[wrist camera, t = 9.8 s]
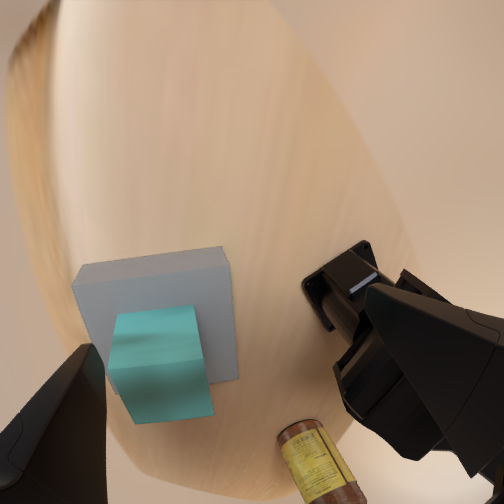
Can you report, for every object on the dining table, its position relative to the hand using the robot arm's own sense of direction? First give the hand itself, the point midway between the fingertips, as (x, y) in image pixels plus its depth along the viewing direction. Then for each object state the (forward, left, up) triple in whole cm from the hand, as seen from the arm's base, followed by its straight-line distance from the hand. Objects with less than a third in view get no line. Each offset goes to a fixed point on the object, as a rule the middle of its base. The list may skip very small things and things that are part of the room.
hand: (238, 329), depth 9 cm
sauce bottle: (-30, +5, -12) cm, 33 cm away
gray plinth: (-5, +7, -12) cm, 15 cm away
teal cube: (-5, +6, -9) cm, 12 cm away
